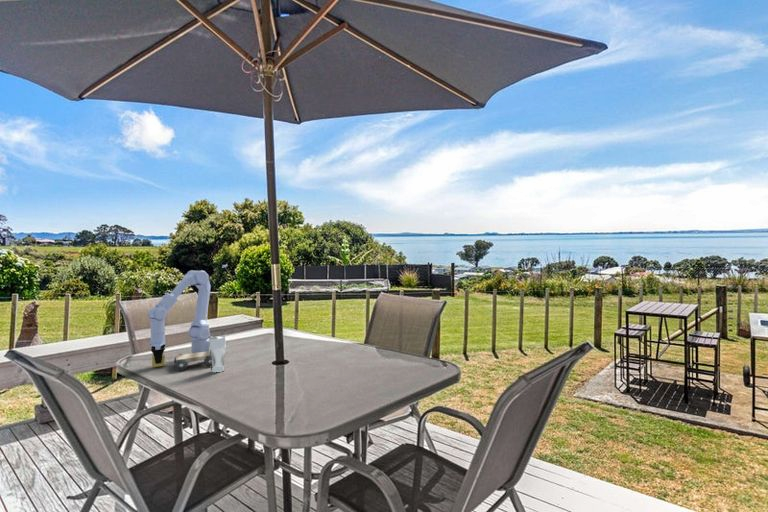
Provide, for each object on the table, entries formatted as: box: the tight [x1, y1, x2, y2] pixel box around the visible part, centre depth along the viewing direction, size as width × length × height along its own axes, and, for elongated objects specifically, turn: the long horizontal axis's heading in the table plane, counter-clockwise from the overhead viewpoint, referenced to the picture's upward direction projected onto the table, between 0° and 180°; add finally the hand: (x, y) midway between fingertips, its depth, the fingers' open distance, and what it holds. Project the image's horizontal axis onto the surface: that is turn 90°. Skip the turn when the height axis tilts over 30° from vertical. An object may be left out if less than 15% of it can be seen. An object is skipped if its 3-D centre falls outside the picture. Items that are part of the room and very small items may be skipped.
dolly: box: [173, 351, 211, 372], centre depth 182 cm, size 17×12×10 cm
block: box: [151, 353, 166, 368], centre depth 181 cm, size 5×4×4 cm
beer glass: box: [208, 335, 227, 374], centre depth 173 cm, size 7×7×15 cm
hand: (158, 362), depth 181 cm, fingers closed on block, 4 cm apart
